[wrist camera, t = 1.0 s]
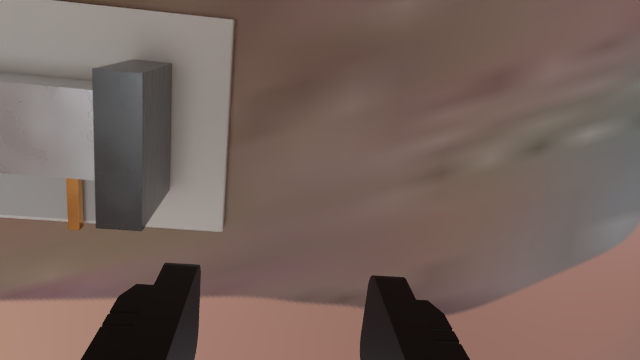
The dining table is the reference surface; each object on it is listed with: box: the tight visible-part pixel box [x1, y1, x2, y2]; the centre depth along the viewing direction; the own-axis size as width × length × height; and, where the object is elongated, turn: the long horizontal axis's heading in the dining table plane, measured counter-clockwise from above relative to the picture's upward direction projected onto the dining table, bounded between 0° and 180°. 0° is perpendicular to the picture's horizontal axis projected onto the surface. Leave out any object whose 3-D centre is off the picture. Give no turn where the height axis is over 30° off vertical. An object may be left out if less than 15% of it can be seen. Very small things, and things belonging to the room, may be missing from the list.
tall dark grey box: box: [0, 59, 172, 231], centre depth 24 cm, size 10×13×6 cm
